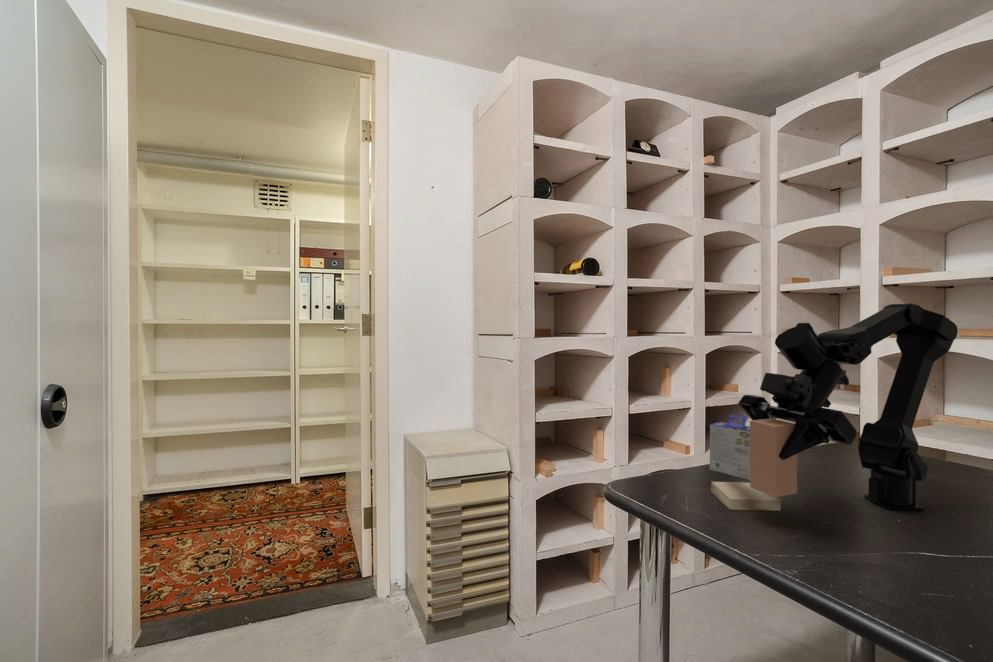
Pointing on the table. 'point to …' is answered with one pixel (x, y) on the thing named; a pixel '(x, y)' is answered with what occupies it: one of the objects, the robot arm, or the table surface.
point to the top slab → (744, 497)
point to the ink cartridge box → (730, 447)
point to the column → (771, 458)
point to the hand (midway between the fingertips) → (766, 453)
